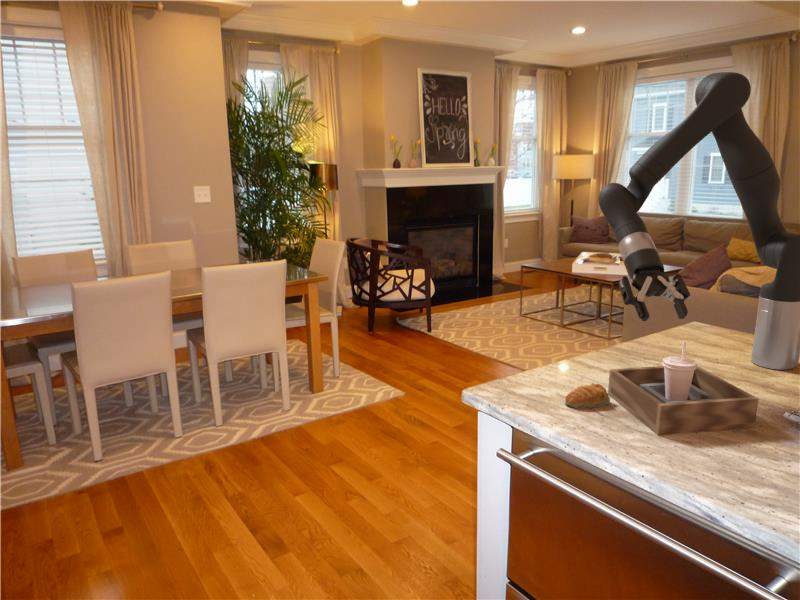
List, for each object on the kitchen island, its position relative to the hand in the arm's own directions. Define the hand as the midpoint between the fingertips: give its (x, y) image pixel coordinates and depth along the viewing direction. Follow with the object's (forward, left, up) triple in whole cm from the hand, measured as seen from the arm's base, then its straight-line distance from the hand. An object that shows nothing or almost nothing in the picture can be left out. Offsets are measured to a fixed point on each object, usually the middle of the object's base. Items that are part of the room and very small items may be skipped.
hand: (665, 318), depth 124 cm
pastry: (+16, 0, -18) cm, 25 cm away
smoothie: (0, +7, -17) cm, 18 cm away
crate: (0, +7, -18) cm, 19 cm away
